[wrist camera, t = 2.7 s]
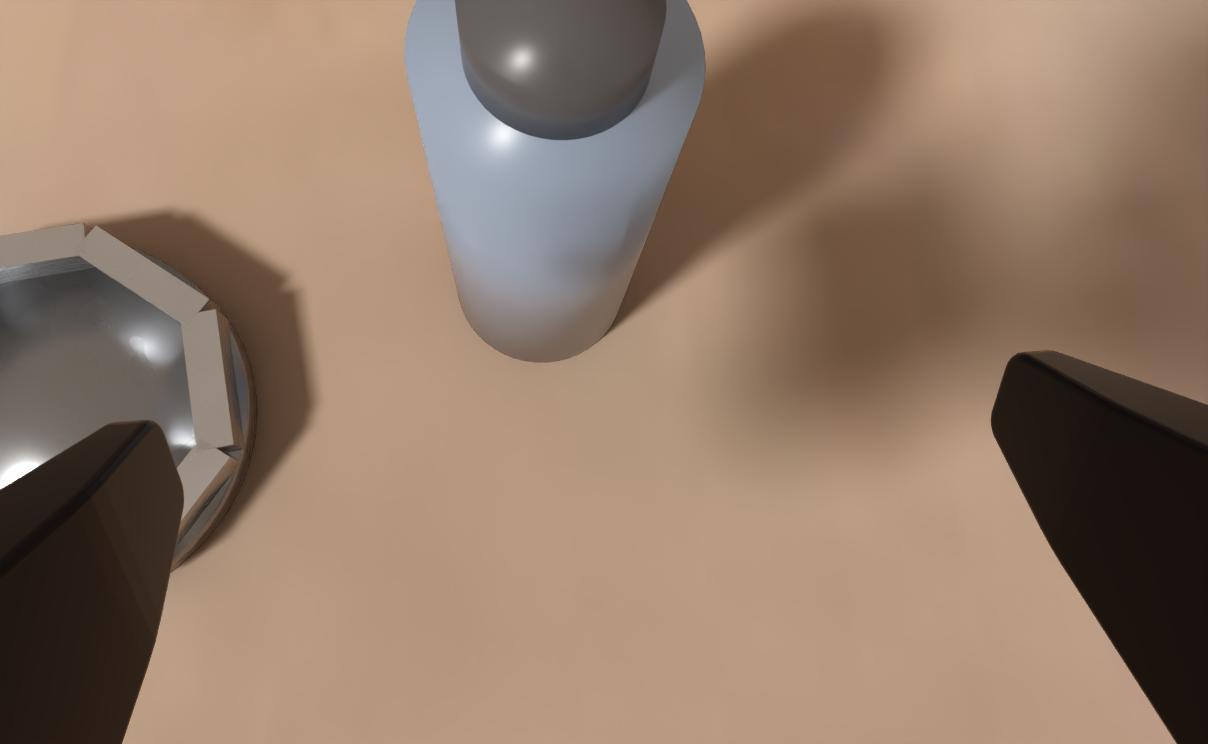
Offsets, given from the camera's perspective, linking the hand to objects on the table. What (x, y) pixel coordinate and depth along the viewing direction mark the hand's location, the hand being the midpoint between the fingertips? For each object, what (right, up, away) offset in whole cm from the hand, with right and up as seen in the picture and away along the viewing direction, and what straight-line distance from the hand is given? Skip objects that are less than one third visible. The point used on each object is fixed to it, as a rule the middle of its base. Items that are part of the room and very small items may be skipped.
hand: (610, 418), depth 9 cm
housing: (-13, -1, +11) cm, 17 cm away
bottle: (-2, +3, +13) cm, 13 cm away
